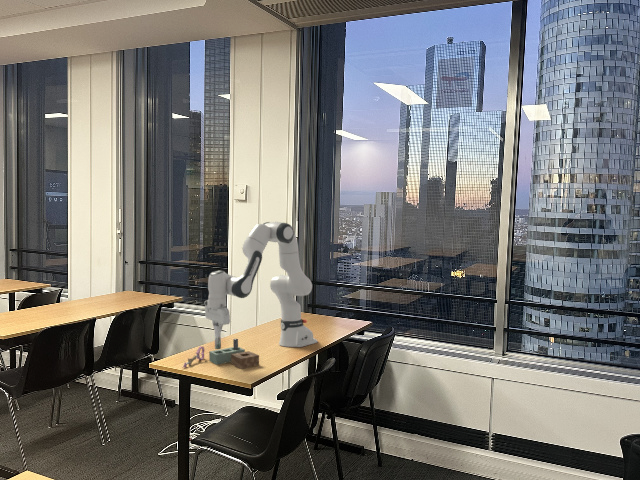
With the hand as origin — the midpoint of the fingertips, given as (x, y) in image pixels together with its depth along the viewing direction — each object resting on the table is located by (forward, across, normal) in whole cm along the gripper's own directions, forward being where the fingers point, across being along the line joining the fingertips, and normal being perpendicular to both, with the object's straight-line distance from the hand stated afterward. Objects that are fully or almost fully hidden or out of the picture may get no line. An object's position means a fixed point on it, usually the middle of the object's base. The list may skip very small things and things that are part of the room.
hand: (217, 330), depth 274 cm
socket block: (+16, -13, -8) cm, 22 cm away
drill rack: (+16, 0, -5) cm, 17 cm away
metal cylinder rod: (+9, 0, 0) cm, 9 cm away
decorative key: (+16, +5, +11) cm, 20 cm away
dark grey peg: (+16, 0, -10) cm, 19 cm away
